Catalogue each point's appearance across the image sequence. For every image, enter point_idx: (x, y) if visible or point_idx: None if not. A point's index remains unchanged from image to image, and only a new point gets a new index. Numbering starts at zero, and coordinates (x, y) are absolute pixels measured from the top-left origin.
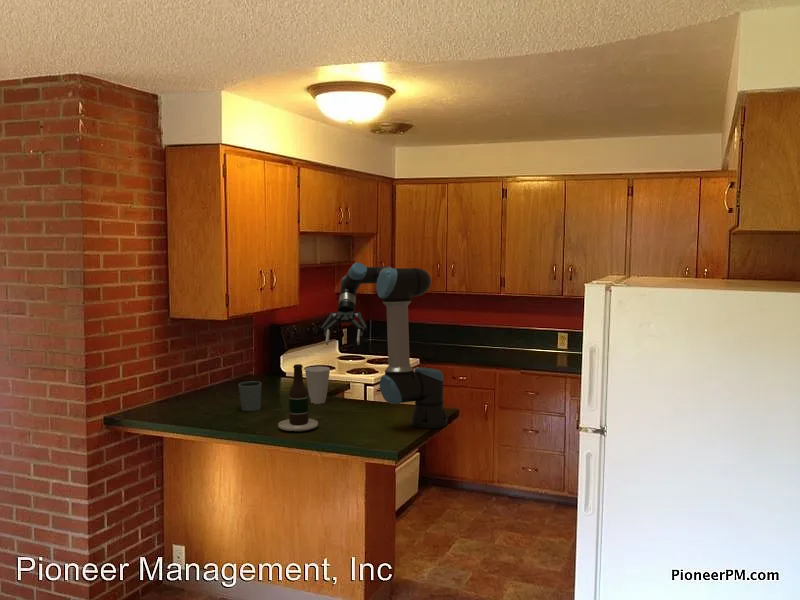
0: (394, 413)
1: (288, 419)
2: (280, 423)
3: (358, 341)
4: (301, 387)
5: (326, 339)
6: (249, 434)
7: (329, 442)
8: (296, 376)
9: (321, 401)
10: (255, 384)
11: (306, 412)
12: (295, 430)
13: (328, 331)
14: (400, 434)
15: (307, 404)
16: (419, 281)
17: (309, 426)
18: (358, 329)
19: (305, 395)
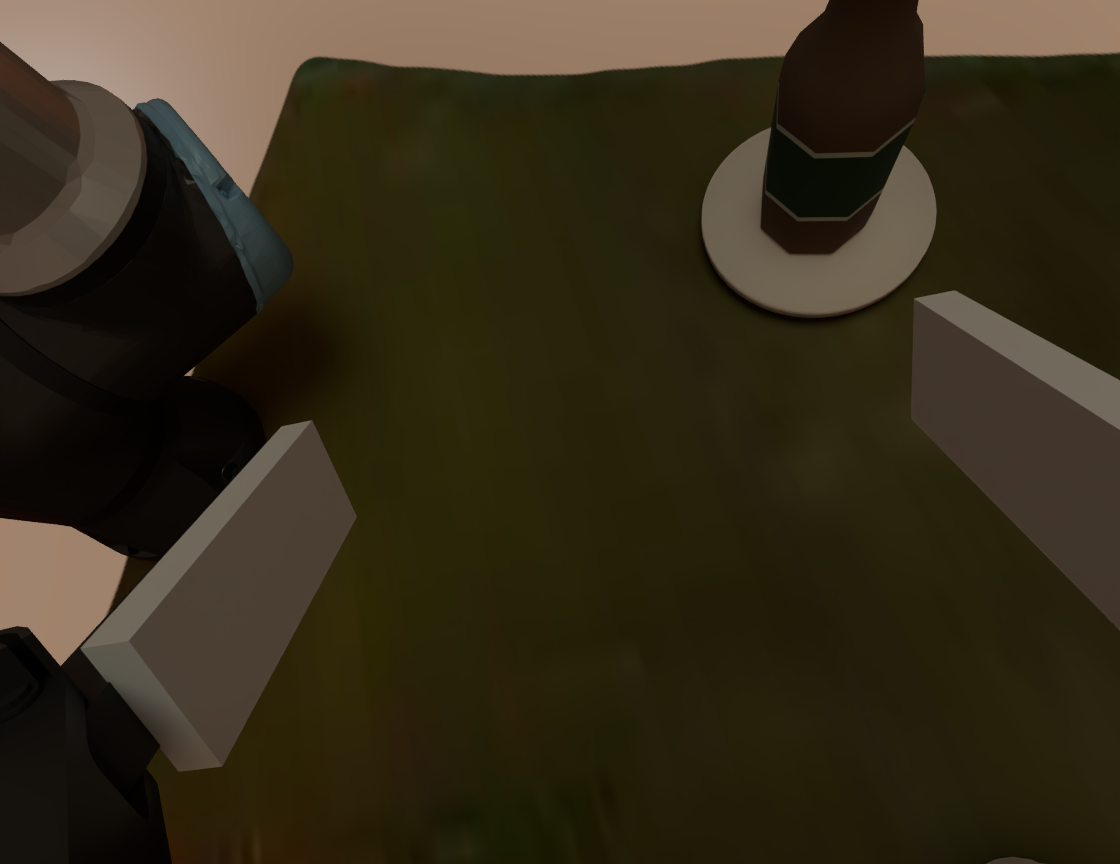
0: (370, 654)
1: (914, 259)
2: (913, 176)
3: (288, 432)
4: (819, 16)
5: (966, 307)
6: (1007, 58)
7: (565, 84)
8: None
9: None
10: None
11: (766, 169)
12: None
13: (1114, 419)
14: (300, 272)
15: (771, 151)
16: None
17: (722, 176)
18: (123, 631)
19: (781, 78)
